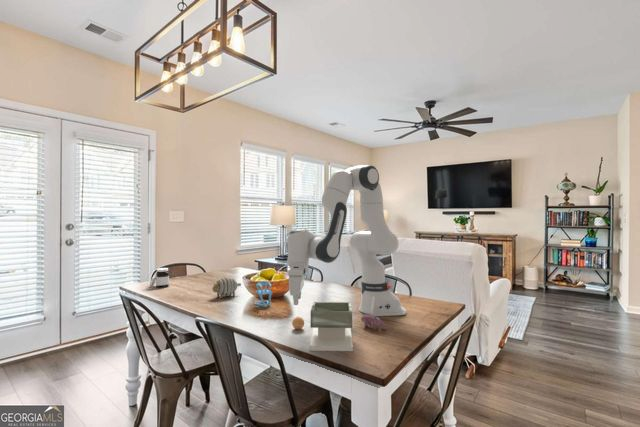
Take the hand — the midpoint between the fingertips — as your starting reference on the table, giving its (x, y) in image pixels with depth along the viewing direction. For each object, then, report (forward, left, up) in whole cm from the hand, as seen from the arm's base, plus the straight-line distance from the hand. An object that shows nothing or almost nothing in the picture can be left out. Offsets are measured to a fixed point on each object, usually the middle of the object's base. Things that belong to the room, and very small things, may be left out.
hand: (297, 301), depth 136 cm
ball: (0, 0, -9) cm, 9 cm away
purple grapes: (-32, -3, -12) cm, 34 cm away
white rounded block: (+100, -75, -12) cm, 126 cm away
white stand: (-14, +5, -11) cm, 19 cm away
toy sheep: (+47, -51, -12) cm, 70 cm away
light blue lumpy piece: (+22, -35, -12) cm, 43 cm away
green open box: (-14, +6, -5) cm, 16 cm away
